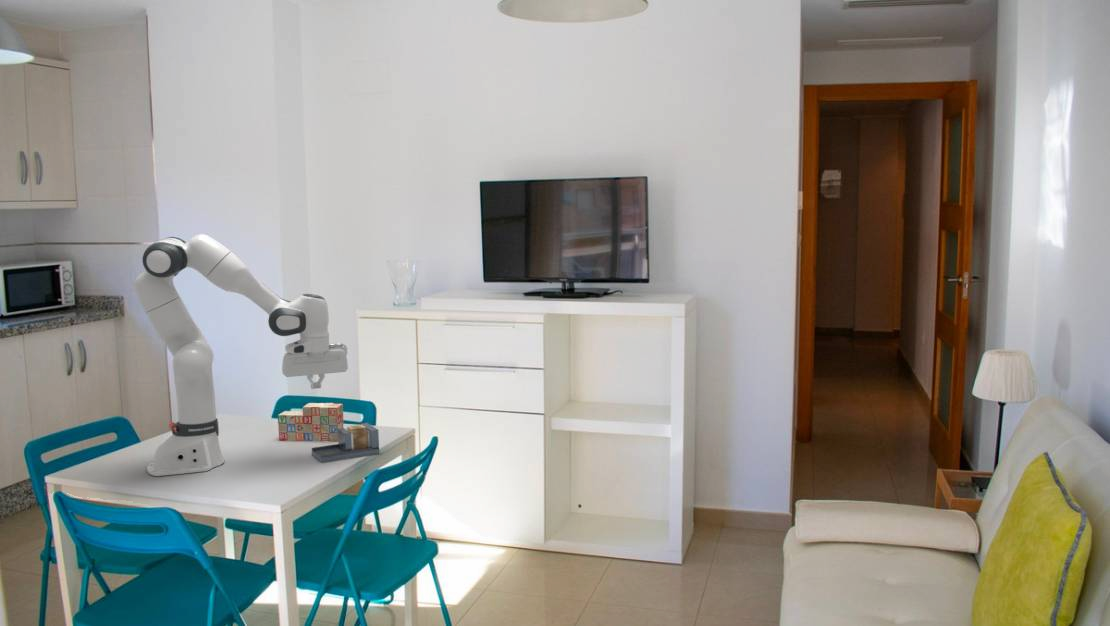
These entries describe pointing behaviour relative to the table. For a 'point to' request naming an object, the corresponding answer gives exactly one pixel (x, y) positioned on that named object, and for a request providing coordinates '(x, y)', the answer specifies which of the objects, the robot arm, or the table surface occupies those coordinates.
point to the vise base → (337, 453)
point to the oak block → (358, 436)
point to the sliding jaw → (345, 439)
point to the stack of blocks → (311, 423)
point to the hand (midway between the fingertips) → (316, 388)
